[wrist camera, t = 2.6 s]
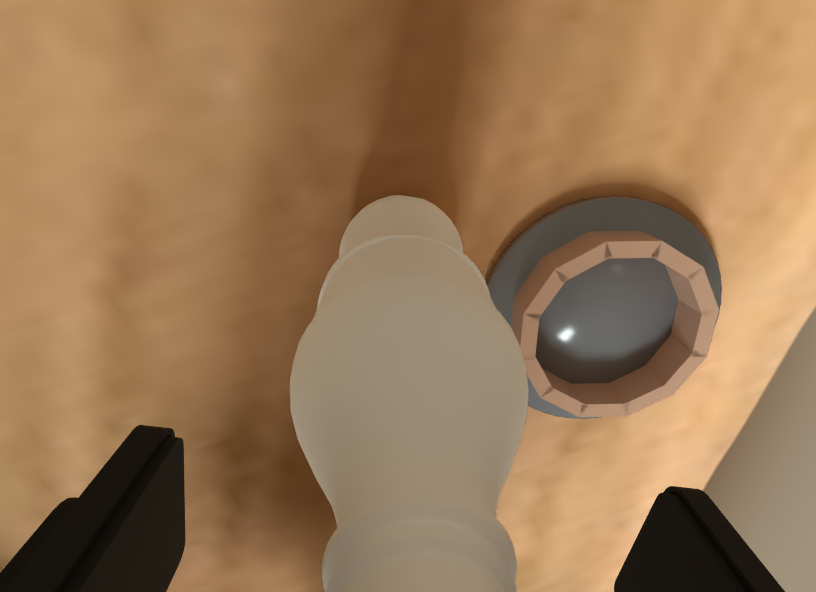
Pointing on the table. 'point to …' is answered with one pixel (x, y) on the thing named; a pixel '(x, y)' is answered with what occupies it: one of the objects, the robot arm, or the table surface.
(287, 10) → the table surface
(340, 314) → the water bottle
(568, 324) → the ring plate
